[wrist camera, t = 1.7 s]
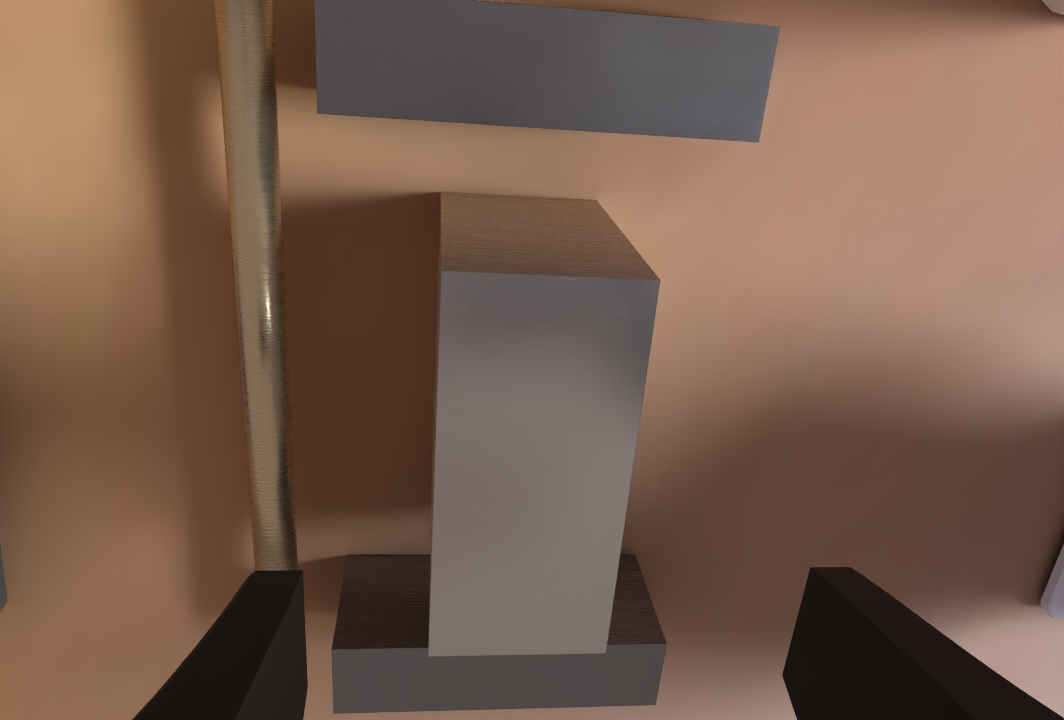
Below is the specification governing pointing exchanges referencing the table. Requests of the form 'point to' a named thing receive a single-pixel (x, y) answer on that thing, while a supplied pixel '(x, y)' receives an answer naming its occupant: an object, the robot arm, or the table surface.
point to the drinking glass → (1055, 5)
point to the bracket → (2, 586)
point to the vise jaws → (477, 98)
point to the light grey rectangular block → (533, 422)
